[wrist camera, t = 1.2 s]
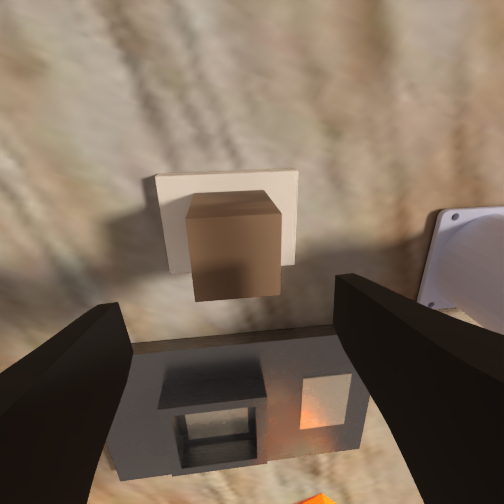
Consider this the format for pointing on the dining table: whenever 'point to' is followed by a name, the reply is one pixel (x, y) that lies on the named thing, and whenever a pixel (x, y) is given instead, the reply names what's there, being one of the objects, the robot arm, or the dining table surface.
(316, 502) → the orange juice
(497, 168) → the dining table surface
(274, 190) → the beige rectangular block
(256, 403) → the gray socket plate
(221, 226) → the walnut block
